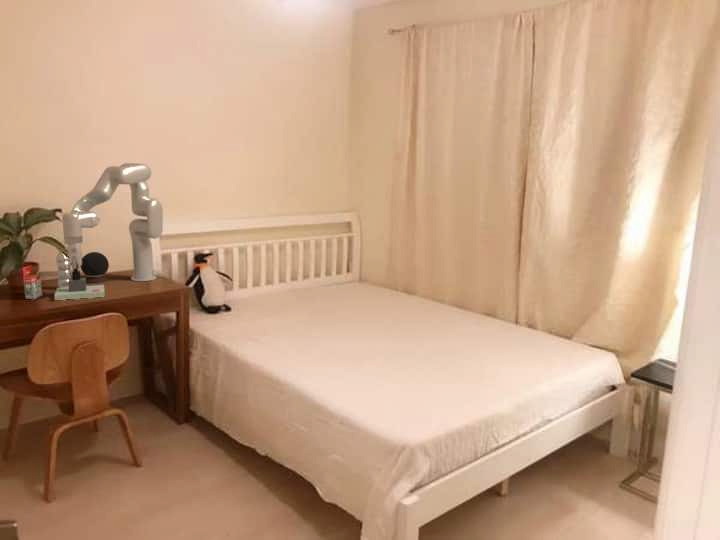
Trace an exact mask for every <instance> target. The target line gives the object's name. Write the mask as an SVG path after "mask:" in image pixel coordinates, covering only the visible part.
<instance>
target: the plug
mask: <svg viewBox="0 0 720 540" xmlns="http://www.w3.org/2000/svg"><path fill="white" fill-rule="evenodd" d="M80 278H81V277H80ZM68 286H69V292H76V291H86V286H87V283H86V277H82V278H81V279H80V280H73V278H72V279H69V280H68Z"/></svg>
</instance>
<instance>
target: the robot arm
mask: <svg viewBox="0 0 720 540" xmlns="http://www.w3.org/2000/svg"><path fill="white" fill-rule="evenodd" d="M151 176H152V169H151V167H150V166H149V165H148V164H146V163H137V162H136V163H134V162H133V163H132V162H126V163H122V164H120V166H117V165H116V166H115V165H112V166H108V167H106V168H105V170H104V171H103V173H102V174H101V175H100V177H99V178H98V180H97V182H96V183H95V185H94V187H93V188H92V189H91V190H90V191H89V192H87V193H86V194H85V195H83V196H82V197H81V198H80V199H78V201H76V203H75V204H74V206H73V207H72V209H71V211H70V212H65V213H63V214H62V215H61V217H62V218H61V220H62V231H63V243H64V245H67V254H68V256H69V263H70V267H71V269H72V270H71V278H72V279H73V280H80V279H81V270H80V266H81V265H82V258H83V253H82V245H81V244H83V242H84V241H83V240H84V239H83V229H82V228H86V229H87V228H89V229H90V228H91V229H92V228H95V227H97V226H98V225H99V224H100V223H101V219H100V215H99V214H97V212H95V211H91V210H92V209H93V208H94V207H96V206H98V205H100V204H104V203H105V202H108V201H110V200H111V198H112V196H113V195H114V193H115V192H116V190H117V188H118V187H119V185H129V186H130V192H131V193H130V194H131V199H130V200H131V211H132V214H133V215H135V216H138V217H146V219H145V218H135V219H132V220H131V221H130V223H129V225H128V231H129V235H130V239H131V240H130V241H131V245H132V246H131V247H132V248H131V249H132V261H133V262H132V265H133V275H132V276H131V277H130V279H131V281H134V282H148V281H154V280H156V279H157V277H158V276H159V275H161V276H162V275H164V273H163V270H155V269H154V261H153V246H152V242H151V241H152V240H153V239H159V238H160V237H161V236H162V234H163V231H164V230H163V229H164V228H163V227H164V225H163V224H164V222H163V221H164V217H163V216H164V215H163V213H164V212H163V211H164V209H163V205H162V204H161V202H160V201H159V200H158V199H157V198H151V197H150V189H149V184H148V183H147V181H149V179H150V178H151Z"/></svg>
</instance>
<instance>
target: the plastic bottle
mask: <svg viewBox="0 0 720 540" xmlns="http://www.w3.org/2000/svg"><path fill="white" fill-rule="evenodd" d="M64 248H65V249H66V250H67V251H68V248H67V247H65V246H64ZM57 252H58V253H57V255H56V257H55V262H56V266H57V272H58V273H57V277H58V280H57V286H58V288H64V287H69V286H68V280H69V279H73V278H72V271H71V266H70V263H69V258H68V257H66V256H65V255H64V254H63V253H62V252H61V251H60V250H59V249H58V248H57Z"/></svg>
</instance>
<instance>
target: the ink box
mask: <svg viewBox="0 0 720 540" xmlns="http://www.w3.org/2000/svg"><path fill="white" fill-rule="evenodd" d="M22 277H23V287H24V295H25V296H24V297H25V300H26V299H31V300H30V301H33V300H34V301H35V299H38V298H40V297H42V296H43V290H42V281H41V275H40V274H33V266H32V264H29V265H27V266H23V267H22Z"/></svg>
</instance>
